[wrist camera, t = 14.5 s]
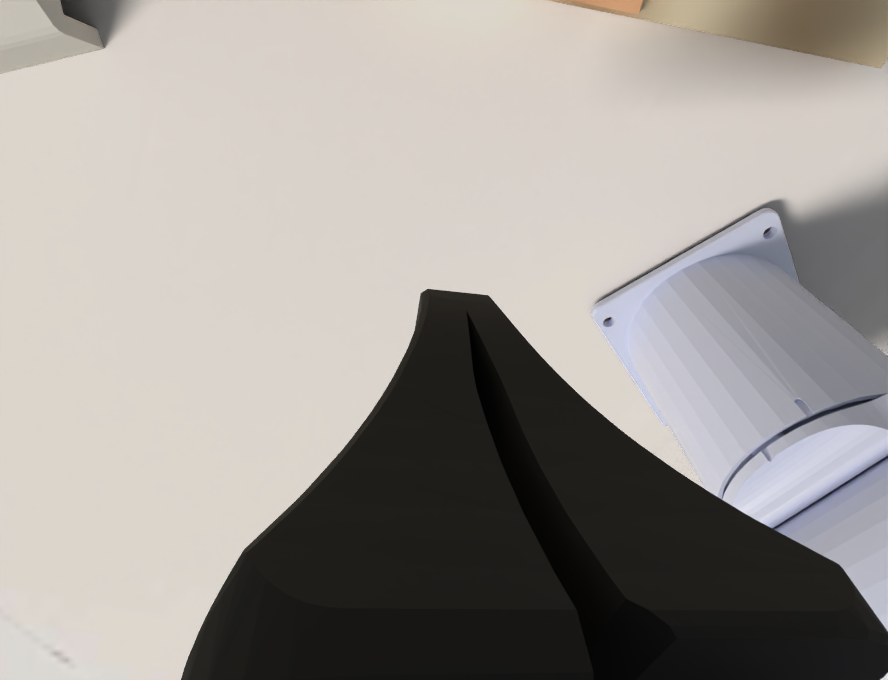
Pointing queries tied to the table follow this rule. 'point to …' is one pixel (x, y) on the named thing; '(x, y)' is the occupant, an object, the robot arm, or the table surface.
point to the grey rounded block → (41, 34)
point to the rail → (773, 23)
